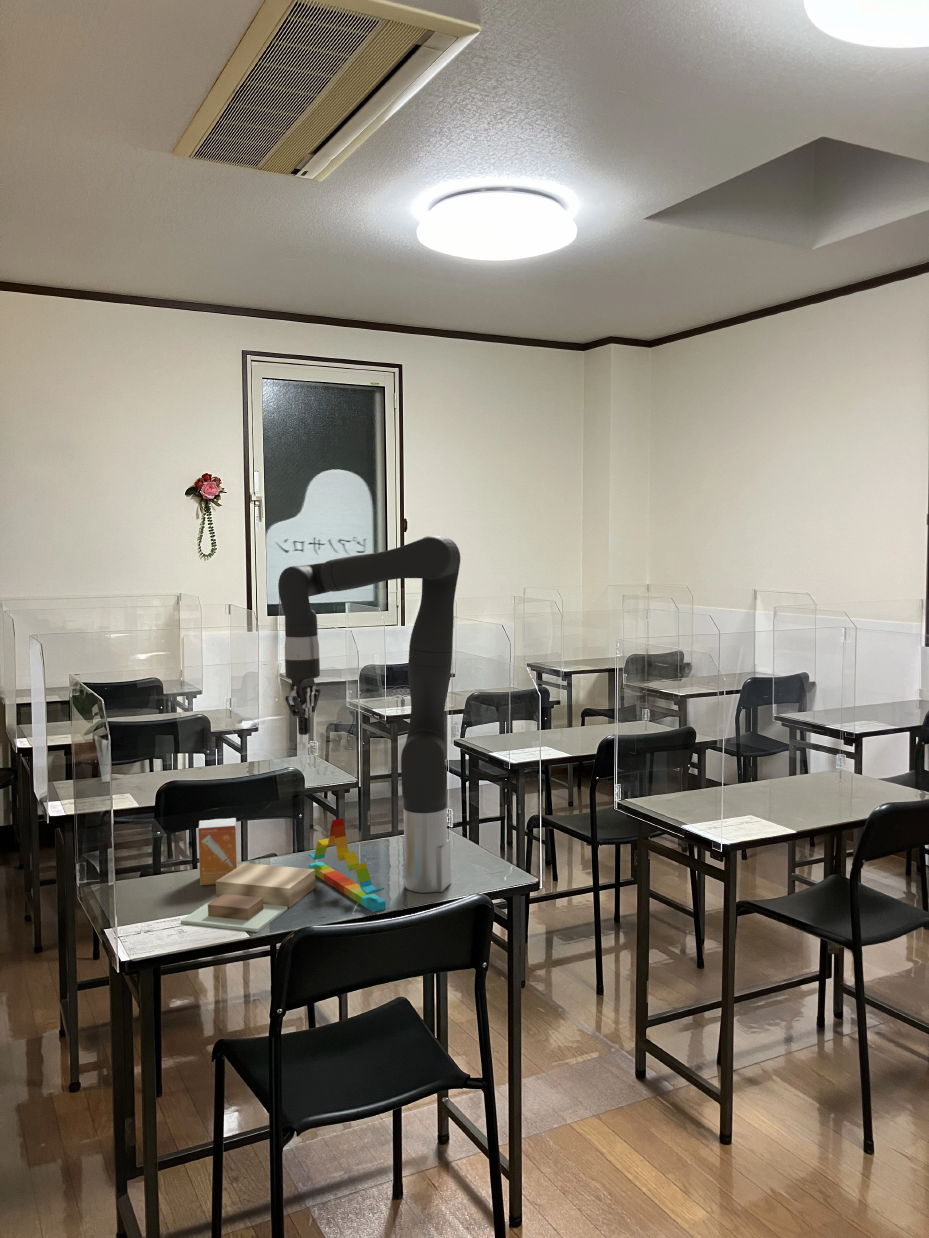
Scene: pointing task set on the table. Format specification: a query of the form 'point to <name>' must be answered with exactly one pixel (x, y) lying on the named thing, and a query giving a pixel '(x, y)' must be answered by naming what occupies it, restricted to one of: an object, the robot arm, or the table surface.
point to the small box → (217, 849)
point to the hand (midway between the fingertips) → (304, 733)
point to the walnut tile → (235, 907)
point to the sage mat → (252, 925)
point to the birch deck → (268, 883)
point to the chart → (342, 883)
